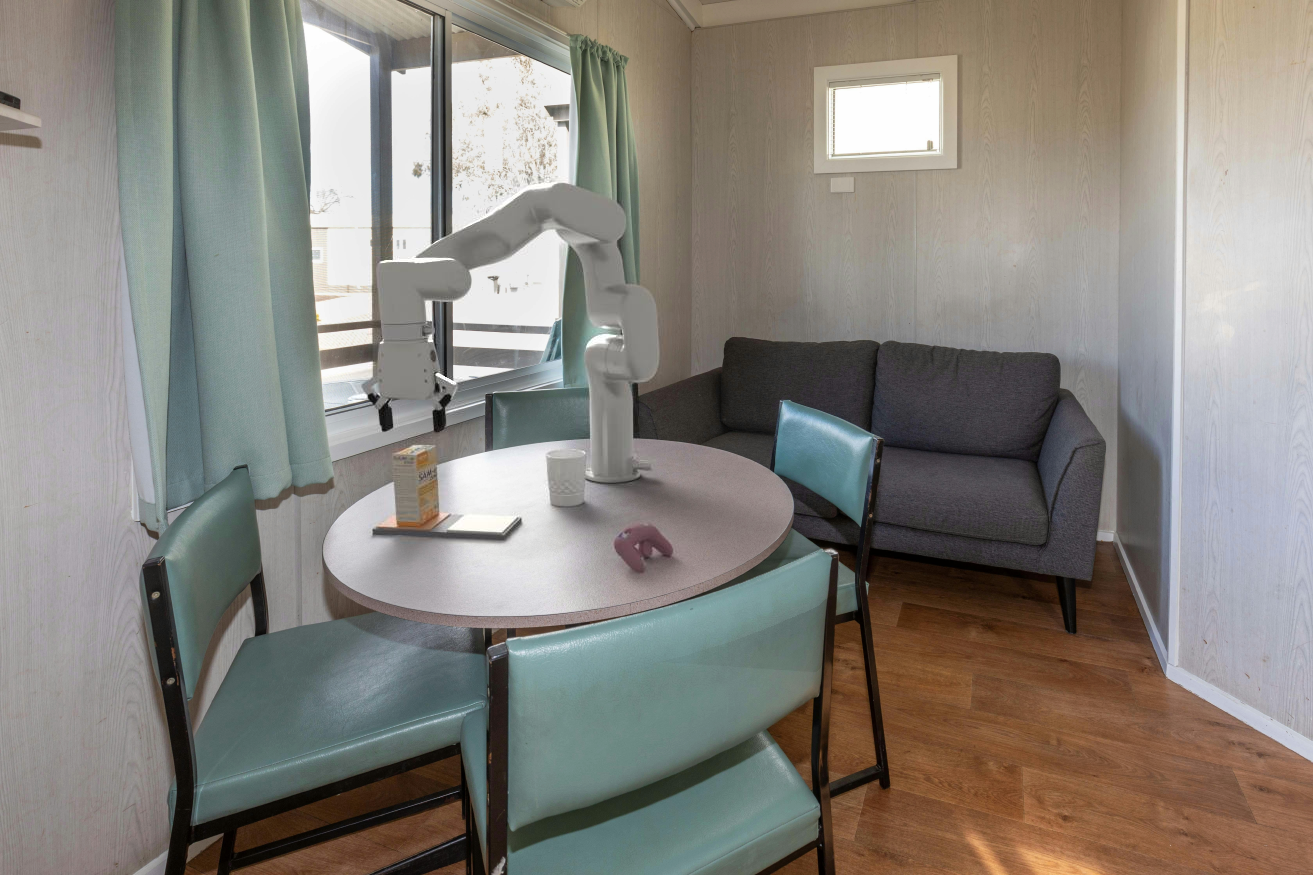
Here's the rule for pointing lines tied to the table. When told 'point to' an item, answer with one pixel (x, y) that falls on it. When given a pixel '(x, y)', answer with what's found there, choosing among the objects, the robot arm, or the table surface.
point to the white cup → (566, 476)
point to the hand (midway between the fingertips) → (413, 430)
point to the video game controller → (640, 544)
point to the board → (455, 527)
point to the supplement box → (415, 485)
